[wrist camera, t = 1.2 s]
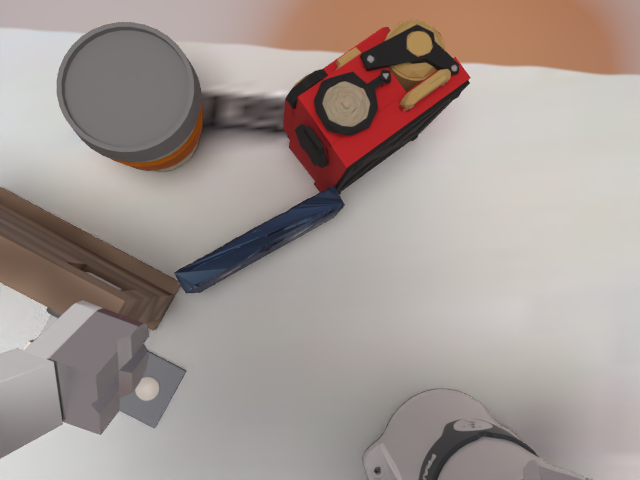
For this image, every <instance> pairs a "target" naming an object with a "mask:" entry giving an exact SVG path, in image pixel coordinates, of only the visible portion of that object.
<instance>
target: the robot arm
mask: <svg viewBox="0 0 640 480" xmlns="http://www.w3.org/2000/svg"><path fill="white" fill-rule="evenodd" d="M148 337H149V333H148V325H146V324H144V323H142V322H139V321H137V320H134V319H131V318H129V317H126V316H123V315H121V314H118V313H116V312H113V311H110V310H108V309H105V308H102V307H99V306H97V305H94V304H91V303H88V302H86V301H83V300H82V301H79V302H77V303H75V304H73V305H72V306H71V307H70V308H69V309H68V310H67V311H66V312H65V313H63V314H62V315H61V316H60V317H59V318H58V319H57V320H56V321H55V322H54V323H53V324H52V325H50V326H49V327H48V328H47V329H46V330H45V331H44V332H43V333H42V334H41V335H40V336H39V337H37V338H36V339H35V340H34V341H33V342H32V343H31V344H30V345H29V346H28V347H27V348H26V349H24V350H21V349H18V348H16V349H13V350H10V351H8V352H5V353H2V354H0V458H2V457H4V456H6V455H8V454H10V453H11V452H13V451H15V450H17V449H19V448H20V447H22V446H24V445H26V444H28V443H29V442H31V441H33V440H35V439H37V438H39V437H40V436H42V435H44V434H46V433H48V432H49V431H51V430H53V429H55V428H57V427H58V426H60V425H62V424H63V422H65V423H68V424H71V425H74V426H77V427H80V428H82V429H85V430H88V431H91V432H94V433H97V434H100V435H101V434H102V433H103V431H104V430H105V429H106V427H107V426H108V425H109V423H110V422H111V421H112V419H113V418H114V417H115V415H116V414H117V413H118V411H119V410H120V398H122V397H124V396H127V395H129V394H131V393H133V391H134V390H135V389H136V387H137V386H138V384H139V383H140V381H141V379H142V377H143V375H144V373H145V371H146V368H147V363H148V356H149V351H148V350H147V348H146V347H145V345H144V344H143V343H144V342H145V341H146V339H147V338H148ZM363 462H364V466H365V470H366V473H367V477H368V480H592V479H589V478H585V477H584V476H582V475H579V474H576V473H573V472H570V471H567V470H564V469H561V468H558V467H555V466H552V465H550V464H549V463H547V462H545V461H544V460H542V459H540V458H539V457H538V455H537V454H536V453H535V452H534V451H533V450H532V449H531V448H530V447H529V446H528V445H526V444H525V443H523V442H522V441H520V439H519V438H518V437H517V436H516V435H515V434H514V433H513V432H512V431H510V430H509V429H507V428H505V427H503V426H501V425H499V424H498V423H497V422H496V421H495V420H494V419H493V417H492V416H491V415H490V414H489V413H488V411H487V410H486V409H485V408H484V407H483V406H482V405H481V404H480V403H479V402H478V401H476V400H475V399H474V398H472V397H470V396H468V395H466V394H464V393H462V392H459V391H455V390H449V389H435V390H430V391H426V392H423V393H420V394H418V395H416V396H414V397H412V398H411V399H409V400H408V401H407V402H405V403H404V404H403V405H402V406H401V407H400V408H399V409H398V410H397V411H396V413H395V414H394V415H393V417H392V418H391V420H390V422H389V424H388V426H387V428H386V430H385V432H384V433H383V435H382V436H381V438H380V439H378V440H377V441H376V442H375V443H374V444H373V445H371V446H370V447H369V448H368V449H367V451H366V452H365V454H364V456H363ZM376 467H380V471H379V472H377V473H376V472H374V469H375V468H376Z"/></svg>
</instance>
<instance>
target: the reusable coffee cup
mask: <svg viewBox="0 0 640 480" xmlns="http://www.w3.org/2000/svg"><path fill="white" fill-rule="evenodd" d="M57 97H58V101H59V106H60V108H61V110H62V113H63V115H64V117H65V119H66V120H67V122H68V123H69V124H70V126H71V127H72V128H73V130H74V131H75V132H76V133H77V135H78V136H79V137H80V138H81V140H82V141H84V142H85V143H86V144H87V145H88V146H89V147H90V148H91V149H93V150H95V151H96V152H98V153H100V154H101V155H103V156H106V157H108V158H110V159H112V160H114V161H116V162H119V163H122V164H125V165H128V166H130V167H133V168H136V169H141V170H147V171H150V170H154V171H168V170H172V169H175V168H177V167H180V166H181V165H183V164H184V163H186V162H187V161H188V160H189V159H190V158H191V157H192V155H193V154H194V152H195V151H196V148H197V146H198V142H199V138H200V136H201V132H202V126H203V109H202V98H201V88H200V84H199V80H198V77H197V75H196V73H195V70H194V68H193V66H192V65H191V63H190V62H189V60H188V59H187V57H186V56H185V54H184V53H183V52H182V50H181V49H180V48H179V46H178V45H177V44H176V43H175V42H174V41H173V40H172V39H170V38H169V37H168V36H167V35H165V34H163V33H162V32H160V31H158V30H157V29H154V28H151V27H149V26H146V25H142V24H137V23H131V22H118V23H112V24H107V25H103V26H101V27H98V28H96V29H93V30H91V31H90V32H88V33H87V34H85V35H83V36H82V37H81V38H80V39H78V40H77V41H76V42H75V43H74V44H73V45H72V46H71V48H70V49H69V51H68V52H67V53H66V55H65V56H64V58H63V61H62V63H61V65H60V68H59V72H58V77H57Z"/></svg>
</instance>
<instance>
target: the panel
mask: <svg viewBox="0 0 640 480" xmlns="http://www.w3.org/2000/svg"><path fill="white" fill-rule="evenodd" d="M86 272H90V273H92V274H94V275H96V276H98V277H100V278H102V279H104V280H105V281H107V282H109V283H111V284H113V285H115V286H117V287H119V288H121V289H122V291H120V290H118V289H116V288H114V287H112V286H110V285H108V284H106V283H105V282H103V281H101V280H99V279H97V278H95V277H93V276H91V275H89V274H88V273H86ZM0 282H1V283H3V284H4V285H6V286H8V287H10V288H12V289H14V290H16V291H18V292H20V293H22V294H24V295H26V296H27V297H29V298H31V299H33V300H35V301H37V302H39V303H41V304H43V305H45V306H47V307H48V308H47V312H48V313H50V314H51V315H53V316H54V317H56V318H59V317H60V316H61V315H62V314H63V313H65V312H66V311H67V310H68V309H69V308H70V307H71V306H72V305H73V304H75V303H77V302H79V301H82V300H83V301H86V302H88V303H91V304H94V305H97V306H99V307H102V308H105V309H108V310H110V311H113V312H116V313H118V314H121V315H123V316H126V317H129V318H131V319H134V320H137V321H139V322H142V323H144V324H146V325H148V328H150V329H152V330H156V328H157V327H158V325H159V323H160V321H161V319H162V318H163V316H164V314H165V312H166V311H167V309H168V307H169V305H170V303H171V302H172V300H173V298H174V296H175V295H176V293H177V291H178V289H179V288H180V286H181V284H180V282H179V281H177V280H175V279H173V278H171V277H169V276H168V275H166V274H164V273H162V272H160V271H158V270H156V269H154V268H152V267H151V266H149V265H147V264H145V263H143V262H141V261H139V260H137V259H136V258H134V257H132V256H130V255H128V254H126V253H124V252H122V251H120V250H119V249H117V248H115V247H113V246H111V245H109V244H107V243H105V242H103V241H102V240H100V239H98V238H96V237H94V236H92V235H90V234H88V233H87V232H85V231H83V230H81V229H79V228H77V227H75V226H73V225H71V224H70V223H68V222H66V221H64V220H62V219H60V218H58V217H56V216H54V215H53V214H51V213H49V212H47V211H45V210H43V209H41V208H39V207H38V206H36V205H34V204H32V203H30V202H28V201H26V200H24V199H22V198H21V197H19V196H17V195H15V194H13V193H11V192H9V191H7V190H5V189H4V188H1V187H0Z"/></svg>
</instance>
